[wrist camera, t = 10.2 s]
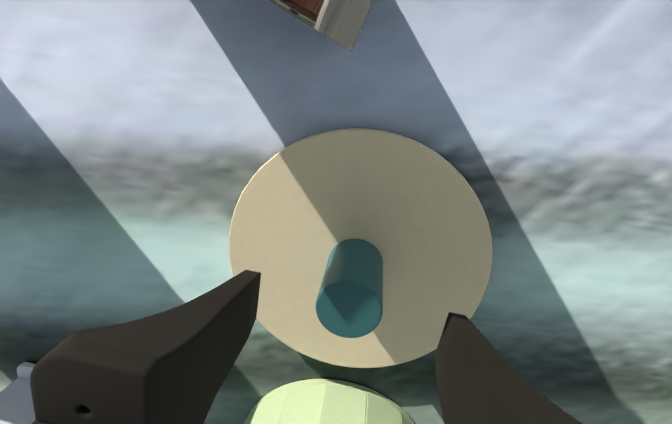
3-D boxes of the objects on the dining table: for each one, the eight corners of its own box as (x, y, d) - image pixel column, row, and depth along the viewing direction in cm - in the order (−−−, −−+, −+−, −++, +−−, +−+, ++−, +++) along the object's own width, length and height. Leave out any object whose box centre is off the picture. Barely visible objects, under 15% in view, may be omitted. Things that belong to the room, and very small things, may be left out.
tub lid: (228, 328, 22) (186, 398, 17) (246, 102, 18) (196, 115, 13) (447, 375, 22) (466, 461, 17) (524, 154, 17) (578, 186, 12)
